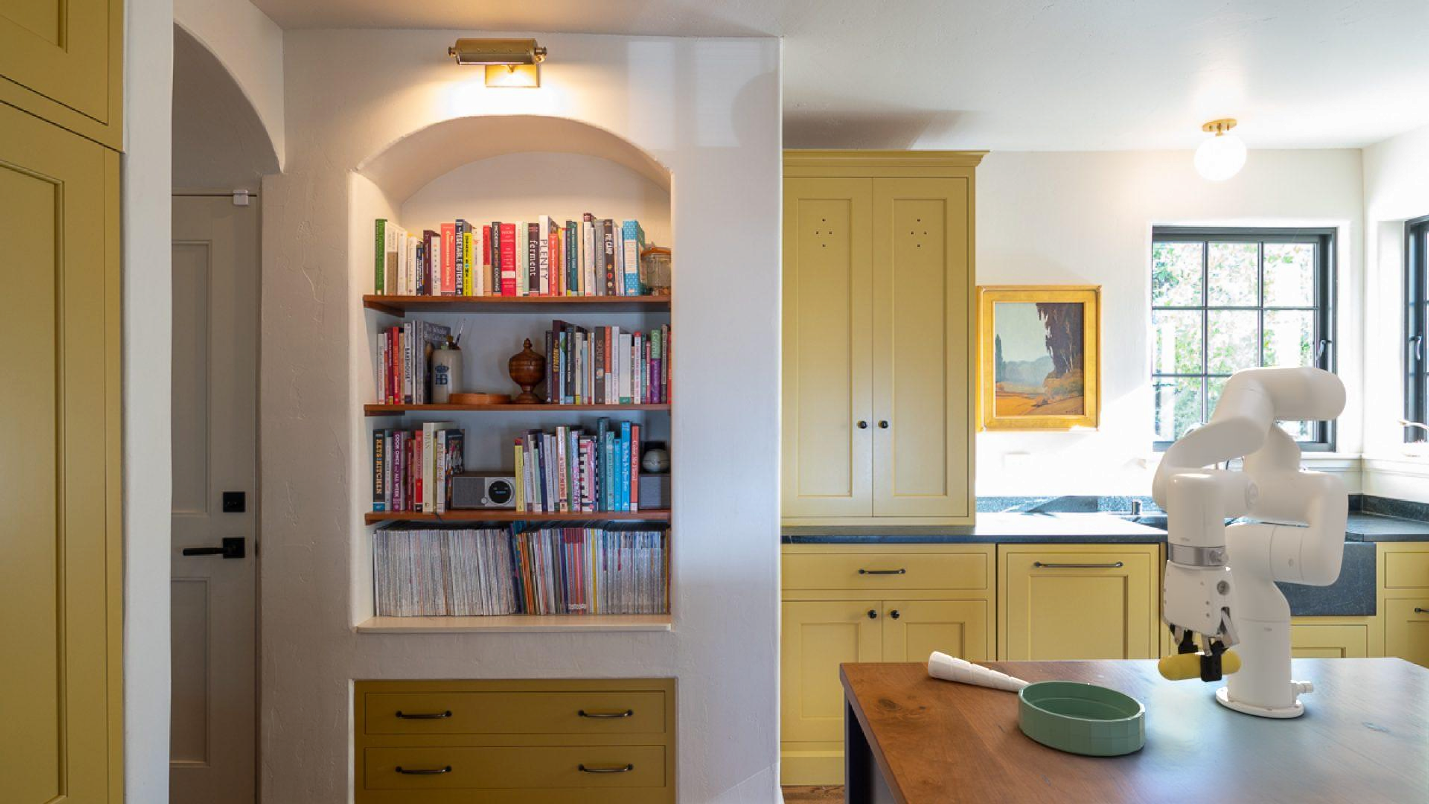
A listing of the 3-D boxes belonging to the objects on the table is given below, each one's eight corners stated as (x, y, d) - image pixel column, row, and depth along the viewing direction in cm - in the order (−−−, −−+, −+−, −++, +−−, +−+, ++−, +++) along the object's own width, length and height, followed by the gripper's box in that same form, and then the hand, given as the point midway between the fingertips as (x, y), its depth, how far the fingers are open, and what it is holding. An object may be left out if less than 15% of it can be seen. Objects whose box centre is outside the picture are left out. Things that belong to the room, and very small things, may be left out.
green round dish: (1092, 709, 139) (1092, 677, 139) (1172, 752, 121) (1172, 715, 122) (997, 718, 136) (996, 685, 136) (1065, 764, 118) (1064, 726, 118)
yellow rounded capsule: (1227, 668, 126) (1227, 645, 126) (1247, 676, 122) (1246, 652, 122) (1152, 677, 123) (1151, 653, 123) (1170, 685, 119) (1169, 661, 119)
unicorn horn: (1054, 705, 141) (1053, 677, 141) (925, 679, 156) (925, 654, 156) (1061, 697, 145) (1061, 670, 145) (935, 672, 160) (935, 648, 160)
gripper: (1265, 564, 115) (1268, 692, 115) (1175, 544, 131) (1178, 657, 131) (1220, 567, 113) (1224, 698, 113) (1135, 547, 130) (1138, 661, 130)
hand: (1199, 674), depth 122 cm, fingers closed on yellow rounded capsule, 3 cm apart
